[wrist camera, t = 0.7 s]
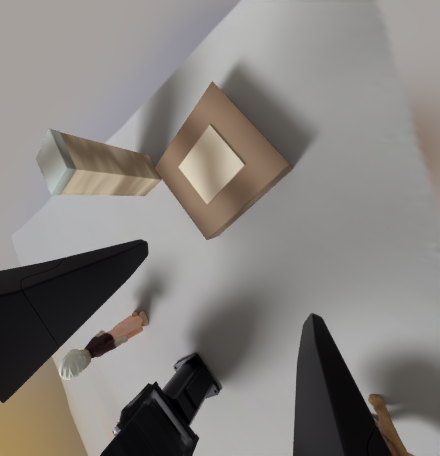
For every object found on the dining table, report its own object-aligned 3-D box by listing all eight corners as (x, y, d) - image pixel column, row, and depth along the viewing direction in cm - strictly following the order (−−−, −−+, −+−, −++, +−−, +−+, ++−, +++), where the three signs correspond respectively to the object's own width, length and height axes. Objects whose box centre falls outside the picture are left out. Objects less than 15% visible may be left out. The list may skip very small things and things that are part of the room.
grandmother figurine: (134, 330, 37) (54, 387, 26) (127, 312, 37) (45, 360, 26) (158, 325, 33) (78, 389, 22) (150, 305, 33) (67, 358, 22)
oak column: (161, 180, 28) (66, 168, 17) (144, 196, 30) (51, 194, 20) (148, 155, 29) (49, 128, 18) (132, 172, 31) (35, 158, 20)
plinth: (218, 235, 25) (205, 240, 22) (170, 171, 27) (153, 167, 24) (292, 168, 19) (288, 163, 17) (225, 95, 22) (211, 80, 19)
